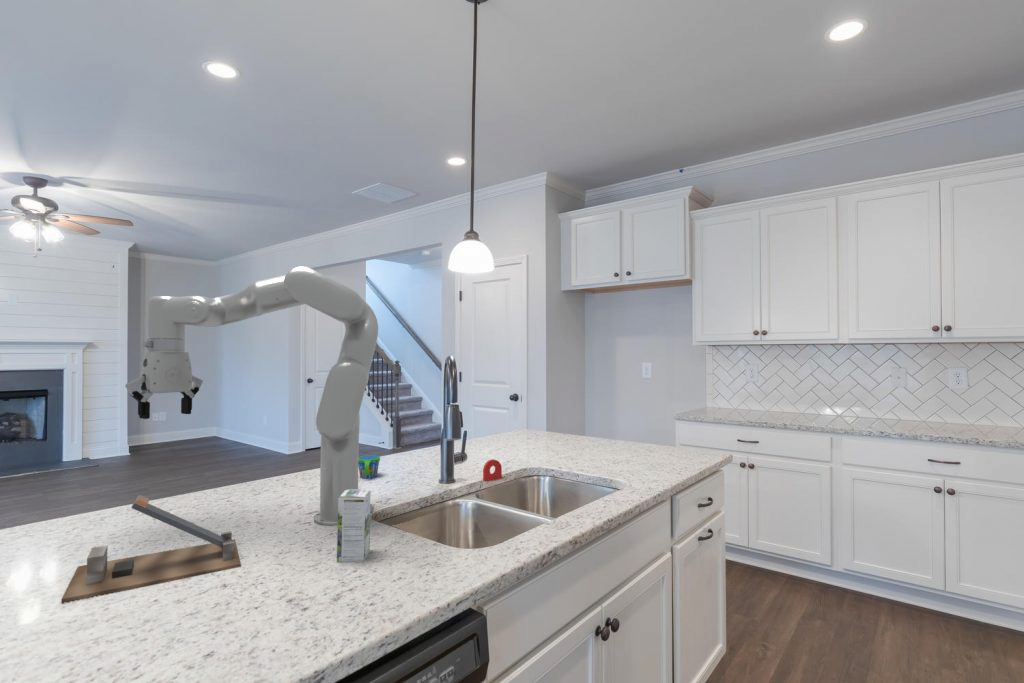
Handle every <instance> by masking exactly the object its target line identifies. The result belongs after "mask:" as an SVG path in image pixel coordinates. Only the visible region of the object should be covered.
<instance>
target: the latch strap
mask: <svg viewBox="0 0 1024 683" xmlns="http://www.w3.org/2000/svg"><path fill="white" fill-rule="evenodd" d="M149 501H150V498H148V497H145V496H144V495H141V494H139V495H138V496H137V497H136V499H135V500H134V501H133V503H132V504H131V509H133V510H134V511H137V512H140V513H142V514H144V515H146V516H149V517H151V518H153V519H156V520H158V521H161V522H162V523H165V524H166V525H169V526H171V527H173V528H177V529H179V530H181V531H183V532H185V533H188V534H189V535H192V536H194V537H196V538H199V539H202V540H203V541H206V542H208V543H209V544H210V543H212V544H215V545H217V546H219V547H222V548H223V543H226V542H232V541H231V539H230V537H225V538H224V537H222V536H221V534H220V535H219V534H218V533H216V532H213V531H211V530H209V529H206V528H204V527H203V526H200V525H198V524H195V523H193V522H191V521H188V520H186V519H184V518H181V517H179V516H178V515H175V514H174V513H173V514H172V513H171V512H168V511H166V510H164V509H161V508H160V507H157V506H155V505H153V504H150V503H149Z"/></svg>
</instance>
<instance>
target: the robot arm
mask: <svg viewBox="0 0 1024 683" xmlns="http://www.w3.org/2000/svg"><path fill="white" fill-rule="evenodd" d="M301 305H302V306H303V305H306V306H309V307H310V308H312V309H314V310H316V311H318V312H320V313H323V314H324V315H326V316H329V317H331V318H332V319H334V320H336V321H338V322H341V323H342V324H344V326H345V330H344V337H343V339H342V343H341V348H340V351H339V356H338V358H337V362H336V363H334V365H333V366H331V368H330V370H329V371H328V374H327V378H326V380H325V383H324V388H323V391H322V394H321V399H320V403H319V405H318V406H319V407H318V410H317V413H316V416H315V426H316V429H317V432H318V434H319V435H320V460H319V461H320V465H319V466H320V468H319V470H320V472H319V474H320V476H319V481H320V482H319V485H320V487H319V492H320V493H319V497H320V498H319V503H320V504H319V512H317V513H316V514H315V515H314V516H313V523H314V524H316V525H317V526H325V527H338V498H339V497H340V496H341V495H342V493H343V492H344V491H345V490H350V489H359V467H358V459H359V457H360V456H359V449H360V448H359V446H360V443H359V442H360V441H359V440H360V439H359V438H360V410H361V406H362V402H363V400H364V394H365V391H366V389H367V388H366V387H367V385H368V382H369V379H370V370H371V366H372V363H373V360H374V359H373V358H374V354H375V349H376V346H377V341H378V336H379V324H378V319H377V316H376V314H375V311H374V310H373V309H372V307H371V306H370V305H369V304H368V303H367V302H366V301H365V299H364V298H362V297H361V295H360V294H359V293H358V292H356V291H355V290H354V289H351V288H350V287H348V286H346V285H344V284H342V283H340V282H338V281H336V280H334V279H332V278H330V277H328V276H326V275H325V274H322V273H320V272H319V271H317V270H315V269H313V268H312V267H309V266H305V265H304V266H303V265H299V266H295V267H292V268H291V269H290V270H288V271H287V272H286V274H285V273H284V274H281V275H278V276H273V277H269V278H268V277H267V278H265V279H258V280H256V281H252V282H251V283H250V284H249V285H248V286H247V287H246V288H245V289H243V290H240V291H238V292H233V293H231V294H230V293H229V294H227V295H221V296H217V297H213V298H211V297H207V296H203V295H186V296H171V295H169V296H168V295H154V296H151V297H150V299H149V300H148V309H147V310H148V317H147V320H148V321H147V324H148V325H147V326H148V327H147V329H148V331H147V332H148V333H147V334H148V335H147V340H146V341H142V343H141V345H142V347H143V348H145V349H147V351H145V353H144V355H143V359H142V364H141V369H140V370H141V371H140V376H139V377H138V378H135V379H133V380H131V381H130V382H127V383H126V384H125V386H124V387H125V388H126V390H127V391H128V393H129V395H130V397H131V398H133V399H134V400H135V402H137V415H138V416H139V417H138V418H139V419H142V420H143V419H144V420H148V419H150V418H151V417H150V416H151V402H150V401H148V400H149V399H150V398H151V397H152V396H153V395H154V394H168V393H171V394H172V393H180V394H181V396H183V397H181V398H180V399H181V400H180V413H181V414H183V415H191V414H192V410H193V399H194V398H195V396H196V394H197V393H198V392H199V391H200V388H201V386H202V385H203V380H202V379H201V378H199V377H197V376H194V375H193V373H192V372H193V370H192V364H191V363H192V362H191V358H190V353H189V352H187V351H186V350H185V345H186V344H185V343H186V342H185V341H186V340H185V338H186V336H185V335H186V331H185V330H186V325H188V326H193V327H205V328H217V327H219V326H225V325H228V324H233V323H237V322H242V321H244V320H247V319H252V318H255V317H259V316H260V317H261V316H263V315H265V314H271V313H275V312H277V311H281V310H286V309H290V308H294V307H298V306H301ZM139 385H140V391H141V392H139V391H138V389H137V387H138V386H139ZM374 512H375V507H374V505H372V504H371V503H370V515H371V514H372V515H373V514H374Z"/></svg>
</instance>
